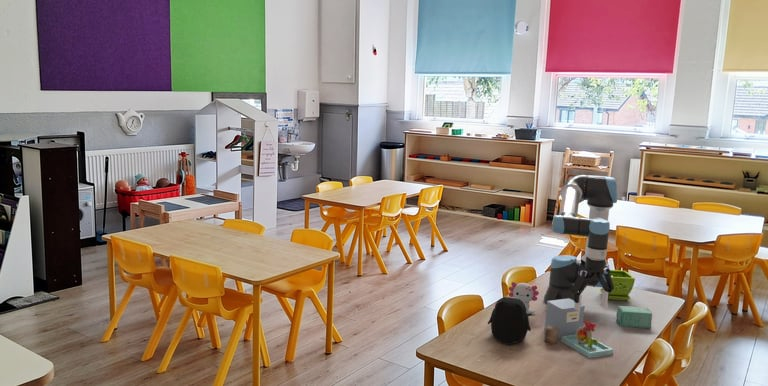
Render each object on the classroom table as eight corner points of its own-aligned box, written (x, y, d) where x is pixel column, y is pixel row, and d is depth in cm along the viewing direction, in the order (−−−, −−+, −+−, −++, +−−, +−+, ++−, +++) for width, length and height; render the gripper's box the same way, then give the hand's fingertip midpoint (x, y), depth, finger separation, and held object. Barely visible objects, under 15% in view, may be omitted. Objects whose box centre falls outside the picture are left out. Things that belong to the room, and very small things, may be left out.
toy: (505, 314, 287) (508, 283, 285) (508, 308, 295) (511, 278, 292) (535, 319, 282) (538, 288, 280) (538, 314, 290) (541, 283, 287)
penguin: (531, 333, 266) (535, 295, 263) (527, 350, 250) (530, 309, 247) (490, 326, 272) (493, 289, 269) (482, 342, 255) (485, 302, 252)
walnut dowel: (541, 340, 260) (543, 326, 259) (551, 339, 262) (552, 325, 261) (549, 345, 255) (550, 331, 254) (559, 343, 257) (560, 330, 256)
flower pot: (633, 302, 311) (635, 278, 309) (605, 301, 311) (607, 277, 309) (622, 293, 325) (625, 269, 322) (596, 291, 325) (598, 268, 322)
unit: (543, 329, 272) (546, 300, 270) (565, 325, 277) (568, 298, 274) (559, 338, 262) (562, 309, 260) (582, 335, 267) (585, 306, 265)
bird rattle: (574, 350, 254) (593, 349, 248) (568, 323, 256) (586, 321, 249) (583, 346, 258) (602, 345, 251) (576, 320, 260) (595, 318, 253)
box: (615, 320, 286) (617, 304, 285) (645, 322, 285) (647, 307, 284) (620, 326, 279) (622, 310, 278) (650, 329, 278) (653, 313, 277)
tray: (561, 340, 260) (561, 336, 260) (583, 337, 265) (584, 333, 264) (589, 358, 245) (589, 353, 244) (612, 354, 250) (613, 349, 249)
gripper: (577, 263, 240) (572, 315, 244) (627, 258, 249) (621, 307, 254) (564, 257, 246) (559, 308, 251) (613, 252, 256) (607, 301, 260)
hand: (590, 308), depth 252 cm, fingers open, 13 cm apart
